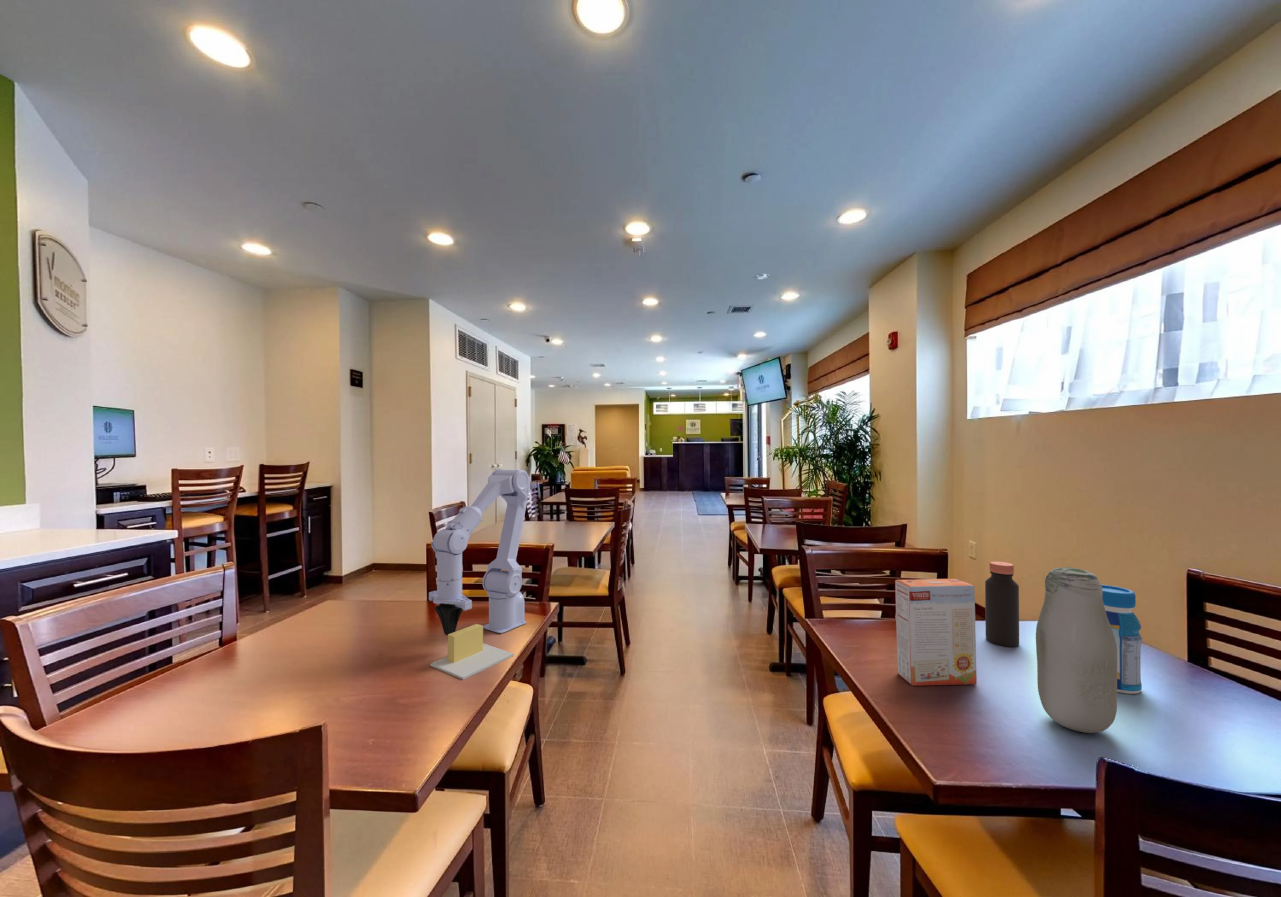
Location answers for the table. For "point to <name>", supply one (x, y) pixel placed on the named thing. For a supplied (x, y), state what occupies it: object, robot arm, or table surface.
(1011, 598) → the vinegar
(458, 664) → the mat
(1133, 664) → the beverage bottle
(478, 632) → the block
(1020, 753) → the table surface
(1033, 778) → the table surface
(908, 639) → the cracker box
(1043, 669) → the grey jar
